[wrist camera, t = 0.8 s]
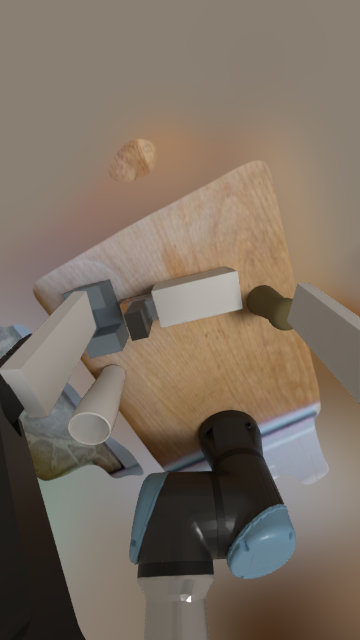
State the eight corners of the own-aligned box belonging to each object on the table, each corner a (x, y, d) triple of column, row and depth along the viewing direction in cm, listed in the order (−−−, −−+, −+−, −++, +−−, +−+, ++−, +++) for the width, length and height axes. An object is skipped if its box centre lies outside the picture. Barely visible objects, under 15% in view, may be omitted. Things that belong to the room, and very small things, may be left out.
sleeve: (231, 298, 42) (242, 308, 35) (163, 314, 43) (161, 327, 36) (226, 266, 40) (237, 270, 33) (154, 283, 41) (151, 291, 34)
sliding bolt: (222, 297, 40) (240, 316, 30) (131, 319, 41) (117, 344, 30) (219, 276, 39) (236, 287, 28) (124, 299, 39) (107, 318, 29)
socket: (129, 336, 44) (122, 350, 38) (101, 342, 44) (90, 358, 38) (109, 279, 40) (98, 285, 34) (79, 286, 40) (62, 294, 34)
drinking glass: (92, 367, 46) (57, 421, 32) (120, 356, 45) (96, 406, 31) (108, 391, 48) (82, 451, 34) (135, 380, 48) (119, 437, 33)
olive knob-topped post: (241, 295, 42) (264, 312, 32) (269, 279, 41) (302, 290, 31) (255, 319, 44) (280, 342, 33) (281, 304, 43) (316, 323, 33)
